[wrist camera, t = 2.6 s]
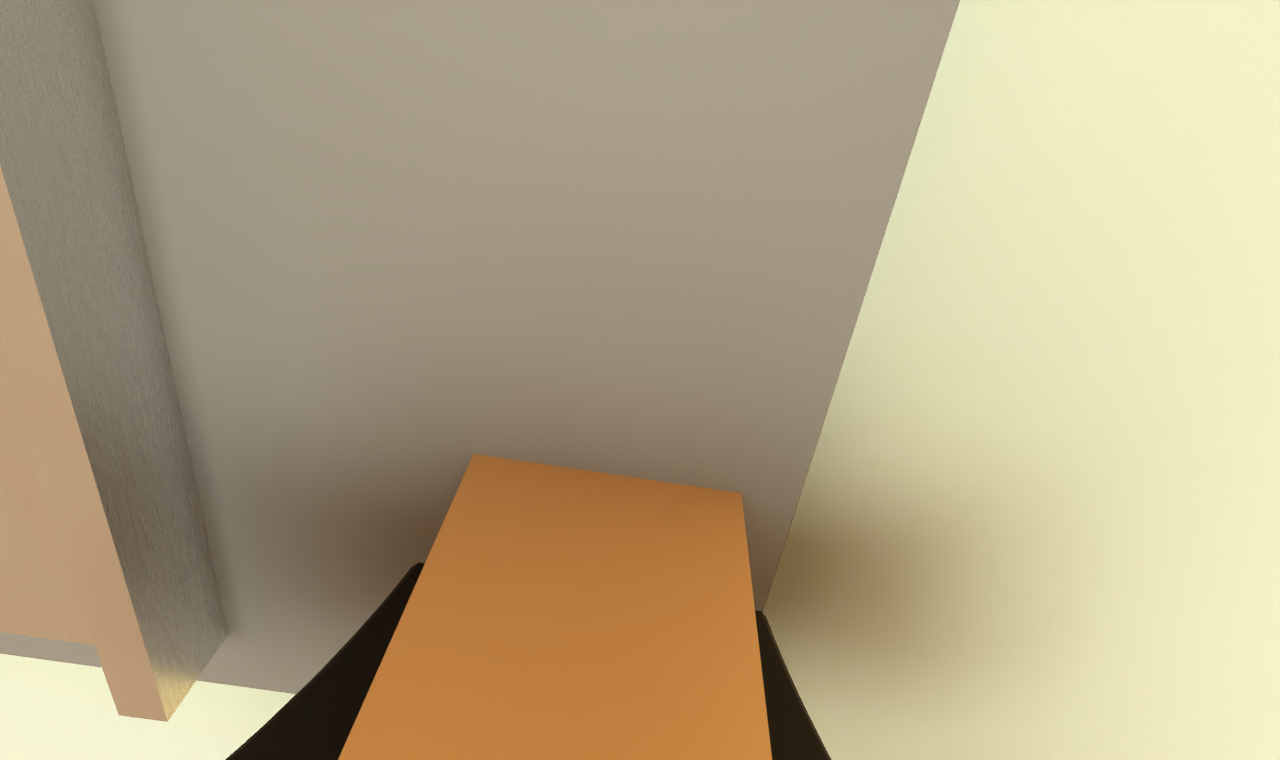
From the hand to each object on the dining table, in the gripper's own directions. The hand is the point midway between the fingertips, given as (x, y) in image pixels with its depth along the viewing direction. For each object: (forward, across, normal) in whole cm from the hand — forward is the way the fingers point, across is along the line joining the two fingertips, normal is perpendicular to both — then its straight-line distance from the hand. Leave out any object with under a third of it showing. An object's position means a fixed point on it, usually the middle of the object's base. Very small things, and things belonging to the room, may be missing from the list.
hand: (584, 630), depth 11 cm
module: (+1, 0, 0) cm, 1 cm away
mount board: (+2, +6, -3) cm, 7 cm away
